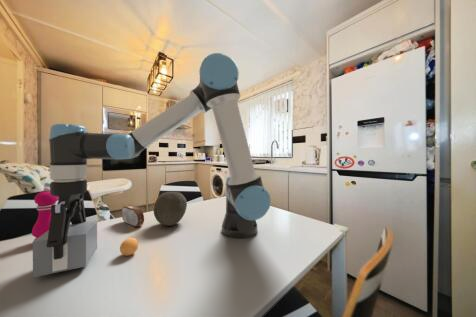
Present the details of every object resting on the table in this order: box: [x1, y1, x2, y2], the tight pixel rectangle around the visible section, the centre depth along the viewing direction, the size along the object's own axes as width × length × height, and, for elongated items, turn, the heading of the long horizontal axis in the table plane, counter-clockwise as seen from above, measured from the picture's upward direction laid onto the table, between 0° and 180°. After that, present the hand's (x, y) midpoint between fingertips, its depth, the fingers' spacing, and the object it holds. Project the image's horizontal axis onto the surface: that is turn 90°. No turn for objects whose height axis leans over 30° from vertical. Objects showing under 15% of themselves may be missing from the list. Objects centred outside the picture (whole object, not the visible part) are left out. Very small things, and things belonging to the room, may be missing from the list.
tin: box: [121, 204, 145, 228], centre depth 80 cm, size 15×3×8 cm, turn 58°
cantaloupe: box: [153, 191, 188, 227], centre depth 81 cm, size 14×14×15 cm
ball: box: [119, 237, 139, 257], centre depth 56 cm, size 5×5×5 cm
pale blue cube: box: [32, 220, 98, 278], centre depth 50 cm, size 10×10×9 cm
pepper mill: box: [31, 186, 59, 241], centre depth 64 cm, size 7×7×20 cm
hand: (69, 258), depth 50 cm, fingers closed on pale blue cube, 10 cm apart
